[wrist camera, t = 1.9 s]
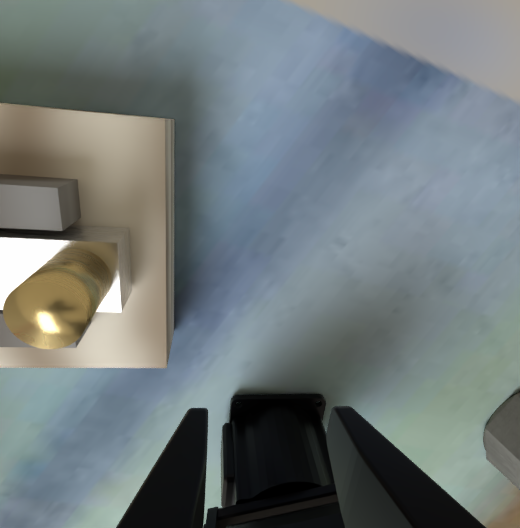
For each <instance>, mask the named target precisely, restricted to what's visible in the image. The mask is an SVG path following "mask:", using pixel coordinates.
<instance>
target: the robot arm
mask: <svg viewBox="0 0 520 528" xmlns="http://www.w3.org/2000/svg"><path fill="white" fill-rule="evenodd" d="M318 401H320V402H318ZM237 402H241V403H239V404H237ZM316 402H318V403H316ZM325 405H326V401H325V399H324V397H323V396H322V395H320V394H276V395H235V396H233V397H232V398H231V403H230V416H229V423H225V424H224V425H223V427H222V441H221V506H222V507H223V508H218V507H214V508H209V509H208V512H207V519H206V524H204V527H203V520H204V503H205V482H206V462H207V435H208V410H207V409H206V408H191V409H189V410H188V411H187V413H186V414H185V416H184V418H183V419H182V421H181V422H180V424H179V426H178V427H177V429H176V431H175V432H174V434H173V436H172V437H171V439H170V440H169V442H168V444H167V445H166V447H165V449H164V450H163V452H162V453H161V455H160V457H159V458H158V460H157V462H156V463H155V465H154V467H153V468H152V470H151V471H150V473H149V475H148V476H147V478H146V480H145V481H144V483H143V485H142V486H141V488H140V489H139V491H138V493H137V494H136V496H135V498H134V499H133V501H132V503H131V504H130V506H129V507H128V509H127V511H126V512H125V514H124V516H123V517H122V519H121V520H120V522H119V524H118V525H117V527H116V528H486V527H485V526H484V525H482V524H481V523H480V522H479V521H478V520H477V519H476V518H475V517H474V516H472V515H471V514H470V513H469V512H468V511H467V510H466V509H465V508H464V507H462V506H461V505H460V504H459V503H458V502H457V501H456V500H455V499H453V498H452V497H451V496H450V495H449V494H448V493H447V492H446V491H445V490H443V489H442V488H441V487H440V486H439V485H438V484H437V483H436V482H434V481H433V480H432V479H431V478H430V477H429V476H428V475H427V474H426V473H424V472H423V471H422V470H421V469H420V468H419V467H418V466H417V465H415V464H414V463H413V462H412V461H411V460H410V459H409V458H408V457H407V456H405V455H404V454H403V453H402V452H401V451H400V450H399V449H398V448H396V447H395V446H394V445H393V444H392V443H391V442H390V441H389V440H388V439H386V438H385V437H384V436H383V435H382V434H381V433H380V432H379V431H377V430H376V429H375V428H374V427H373V426H372V425H371V424H370V423H369V422H367V421H366V420H365V419H364V418H363V417H362V416H361V415H360V414H358V413H357V412H356V411H355V410H354V409H353V408H351V407H349V406H335V407H333V408H332V410H331V414H330V419H329V424H328V428H327V433H326V431H325V428H324V426H323V423H322V420H323V415H324V410H325Z"/></svg>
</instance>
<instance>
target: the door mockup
mask: <svg viewBox="0 0 520 528" xmlns="http://www.w3.org/2000/svg"><path fill="white" fill-rule="evenodd" d="M174 130H175V119H166V118H156V117H145V116H135V115H124V114H114V113H103V112H93V111H82V110H72V109H61V108H51V107H40V106H30V105H19V104H9V103H0V228H14V229H33V230H53V231H63V230H65V229H66V228H67V227H69V226H70V225H80V226H98V227H117V228H129V232H130V254H131V276H132V292H131V294H130V296H129V298H128V300H127V302H126V304H125V306H124V308H123V310H122V312H96V313H95V314H94V316H93V318H92V319H91V321H90V322H89V324H88V326H87V327H86V329H85V330H84V332H83V334H82V335H81V336H80V338H79V339H78V340H77V341H75V342H74V343H72V344H71V345H69V346H66V347H63V348H59V349H42V348H37V347H34V346H31V345H29V344H27V343H25V342H23V341H21V340H20V339H18V338H17V337H16V336H15V335H14V334H13V333H12V332H11V331H10V330H9V328H8V326H7V325H6V323H5V320H4V317H3V310H0V368H167V364H168V359H169V354H170V349H171V344H172V339H173V334H174Z"/></svg>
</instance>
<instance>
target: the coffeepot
mask: <svg viewBox="0 0 520 528" xmlns="http://www.w3.org/2000/svg"><path fill="white" fill-rule="evenodd" d="M483 442H484V447H485V450H486V459H487V460H488V461H489V462H490V463H491V464H493V465H494V466H495V467H496V468H497V469H498V470H499V471H500V472H501V473H502V474H503V475H504V476H505V477H506V478H507V479H509V480H510V481H511V482H512V483H513V484H514V485H515V486H516V487H517V488H518V489H519V490H520V392H518V393H516V394H515V395H513V396H512V397H510V398H509V399H508V400H506V401H505V402H504V403H503V404H502V405H501V406H500V407H499V408H498V409H497V410H496V411H495V412H494V414H493V415H492V416H491V418H490V419H489V421H488V423H487V425H486V427H485V430H484V436H483Z"/></svg>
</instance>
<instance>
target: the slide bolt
mask: <svg viewBox="0 0 520 528" xmlns="http://www.w3.org/2000/svg"><path fill="white" fill-rule="evenodd" d="M131 292H132V276H131V254H130V232H129V228H117V227H98V226H80V225H70V226H69V227H67V228H66V229H65V230H63V231H53V230H33V229H14V228H0V310H3V317H4V320H5V323H6V325H7V326H8V328H9V330H10V331H11V332H12V333H13V334H14V335H15V336H16V337H17V338H18V339H20V340H21V341H23V342H25V343H27V344H29V345H31V346H34V347H37V348H42V349H59V348H63V347H66V346H69V345H71V344H72V343H74V342H75V341H77V340H78V339H79V338H80V336H81V335H82V334H83V332H84V330H85V329H86V327H87V326H88V324H89V322H90V321H91V319H92V318H93V316H94V314H95V313H96V312H122V310H123V308H124V306H125V304H126V302H127V300H128V298H129V296H130V294H131Z"/></svg>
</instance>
